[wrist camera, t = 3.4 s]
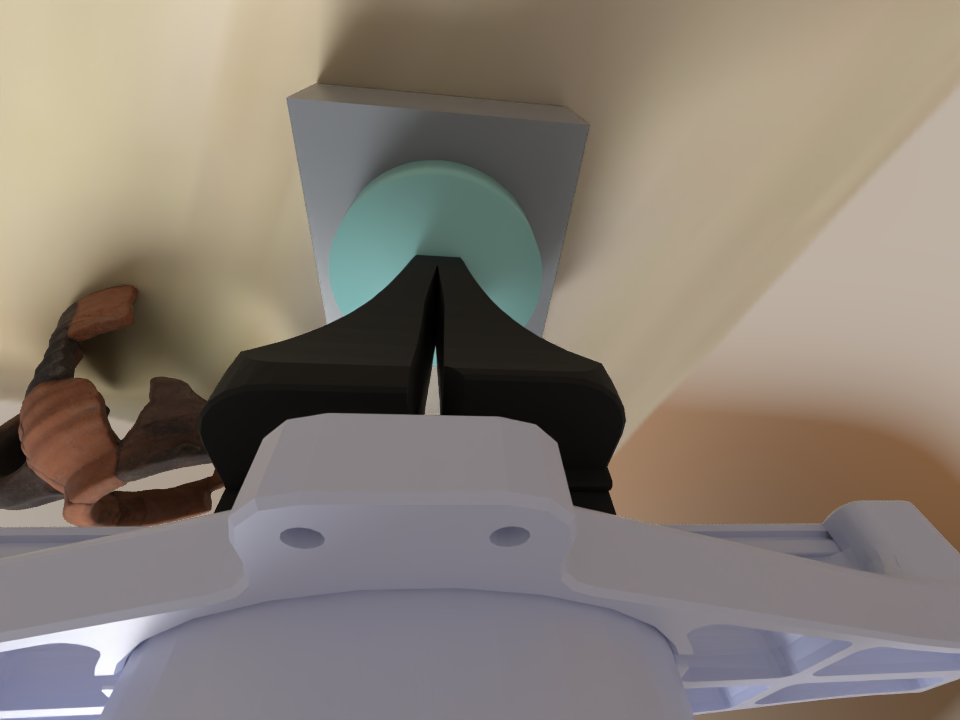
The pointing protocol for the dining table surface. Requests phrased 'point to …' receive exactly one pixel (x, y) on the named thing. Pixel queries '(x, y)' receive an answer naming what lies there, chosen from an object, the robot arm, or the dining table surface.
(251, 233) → the dining table surface
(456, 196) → the dome button
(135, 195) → the dining table surface
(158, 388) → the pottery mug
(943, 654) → the robot arm
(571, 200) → the dome box
